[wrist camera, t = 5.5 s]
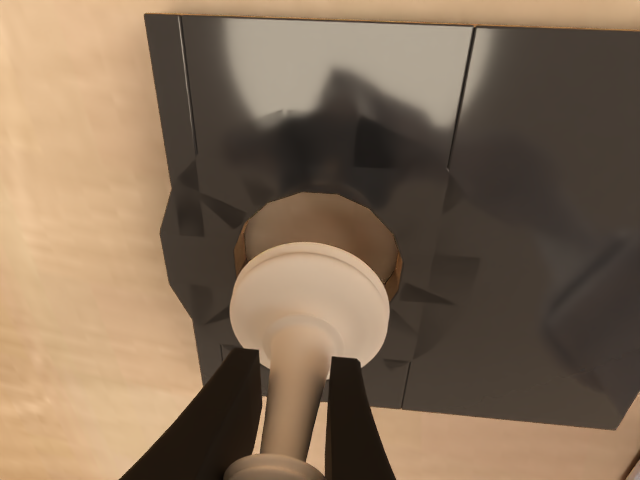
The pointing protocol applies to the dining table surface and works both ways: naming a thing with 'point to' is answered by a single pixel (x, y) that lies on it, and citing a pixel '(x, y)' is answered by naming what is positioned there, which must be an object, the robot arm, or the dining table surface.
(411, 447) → the dining table surface
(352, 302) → the chess piece
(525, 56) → the dark grey flat block
